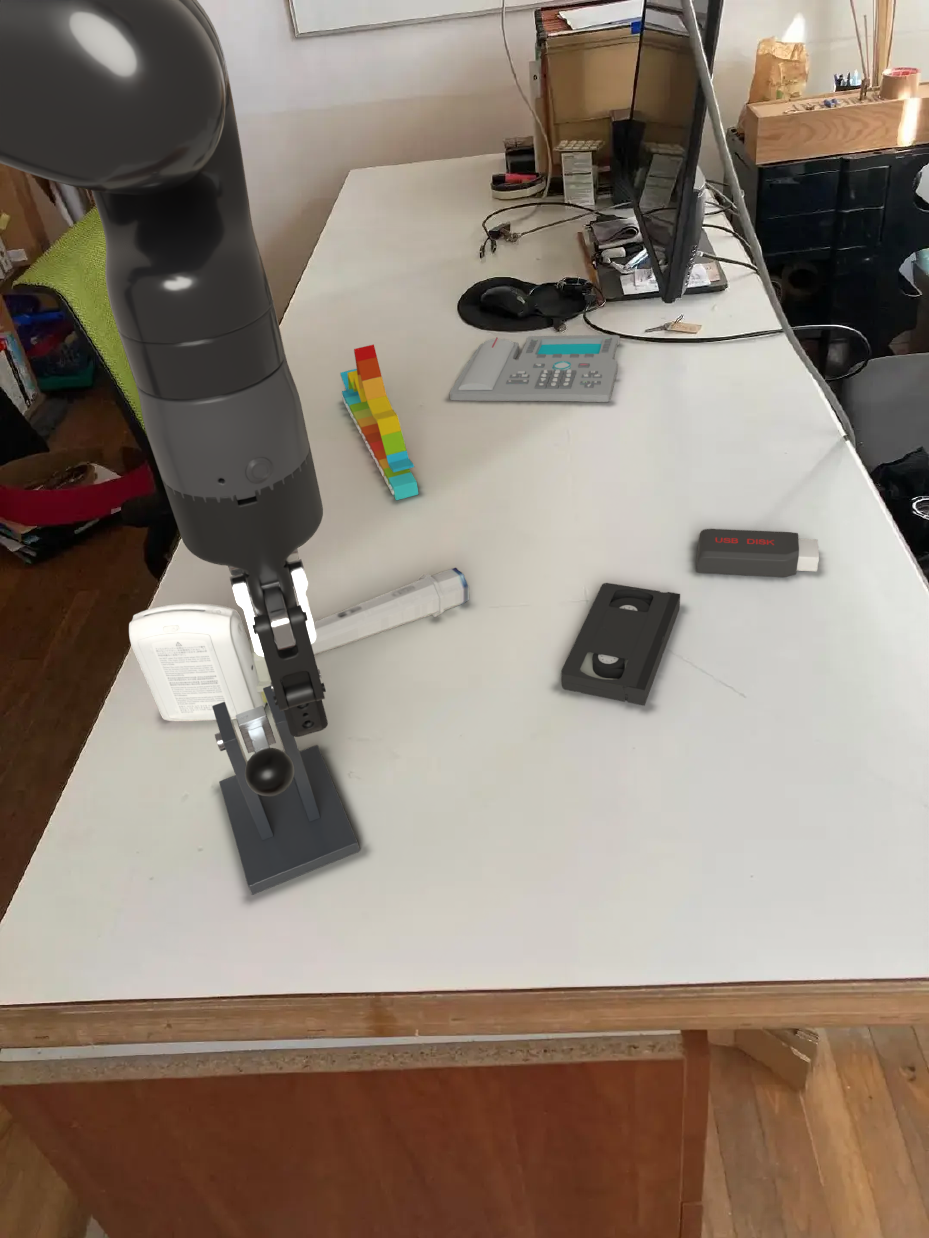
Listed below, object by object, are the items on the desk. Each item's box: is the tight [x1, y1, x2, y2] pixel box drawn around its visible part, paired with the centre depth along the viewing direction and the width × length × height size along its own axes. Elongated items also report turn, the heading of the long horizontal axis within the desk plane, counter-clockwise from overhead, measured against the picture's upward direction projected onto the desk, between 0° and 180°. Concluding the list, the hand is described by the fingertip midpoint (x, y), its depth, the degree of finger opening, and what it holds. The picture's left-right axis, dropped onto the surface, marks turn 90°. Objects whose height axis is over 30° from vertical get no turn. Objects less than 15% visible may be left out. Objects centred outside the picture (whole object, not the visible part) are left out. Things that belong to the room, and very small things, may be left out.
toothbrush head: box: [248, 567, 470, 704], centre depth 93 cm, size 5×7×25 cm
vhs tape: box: [560, 582, 681, 707], centre depth 89 cm, size 14×8×2 cm, turn 157°
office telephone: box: [448, 334, 621, 403], centre depth 139 cm, size 23×3×20 cm
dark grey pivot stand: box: [212, 686, 361, 896], centre depth 74 cm, size 12×9×13 cm
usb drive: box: [695, 528, 820, 578], centre depth 97 cm, size 5×12×3 cm, turn 77°
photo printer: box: [128, 602, 267, 722], centre depth 86 cm, size 10×4×12 cm, turn 88°
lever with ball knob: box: [235, 706, 294, 797], centre depth 66 cm, size 13×3×3 cm, turn 23°
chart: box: [339, 344, 419, 501], centre depth 122 cm, size 30×3×15 cm, turn 18°
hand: (296, 681), depth 57 cm, fingers open, 8 cm apart
